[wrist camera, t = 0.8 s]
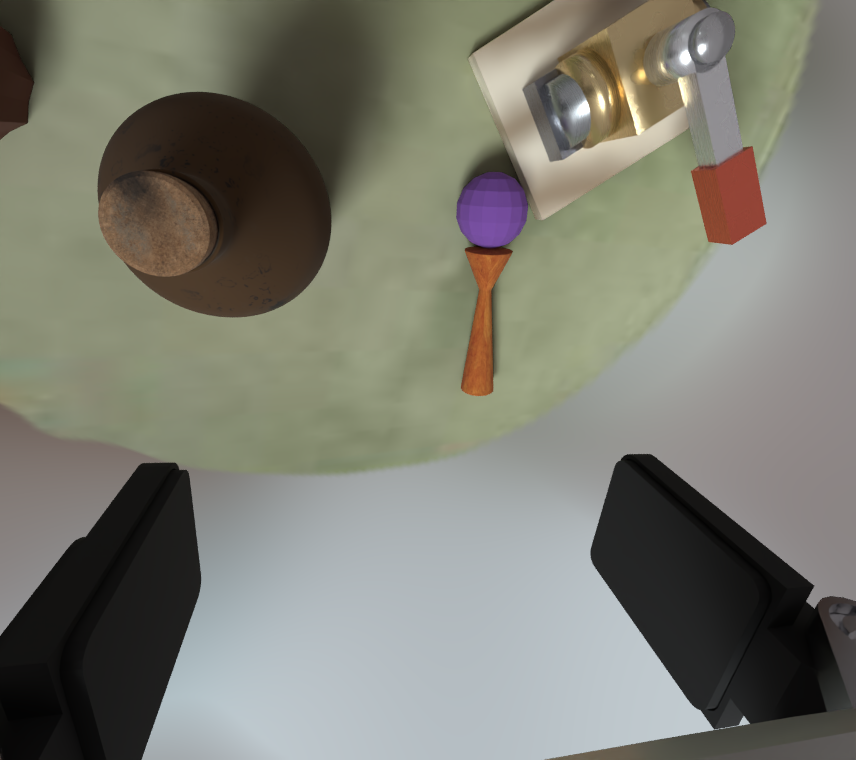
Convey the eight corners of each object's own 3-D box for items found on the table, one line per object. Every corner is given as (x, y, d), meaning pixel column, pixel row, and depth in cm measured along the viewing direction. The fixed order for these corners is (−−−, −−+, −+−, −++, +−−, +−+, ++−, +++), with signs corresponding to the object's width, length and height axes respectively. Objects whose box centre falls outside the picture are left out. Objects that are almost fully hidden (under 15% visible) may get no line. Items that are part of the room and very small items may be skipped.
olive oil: (355, 187, 37) (387, 173, 14) (296, 295, 39) (244, 428, 17) (231, 103, 33) (10, -96, 11) (175, 228, 36) (-104, 284, 13)
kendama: (449, 402, 42) (461, 172, 33) (446, 374, 48) (456, 170, 39) (511, 403, 42) (539, 174, 33) (501, 375, 48) (524, 171, 39)
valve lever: (637, 45, 29) (685, 21, 25) (679, 18, 29) (735, -10, 25) (689, 241, 35) (735, 246, 31) (725, 219, 35) (775, 222, 31)
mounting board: (467, 58, 35) (473, 53, 34) (664, -70, 34) (678, -81, 33) (535, 219, 41) (542, 220, 40) (704, 113, 40) (717, 110, 39)
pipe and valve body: (519, 82, 35) (560, 57, 29) (661, -9, 35) (734, -55, 28) (552, 167, 38) (595, 161, 32) (683, 84, 37) (754, 61, 31)
